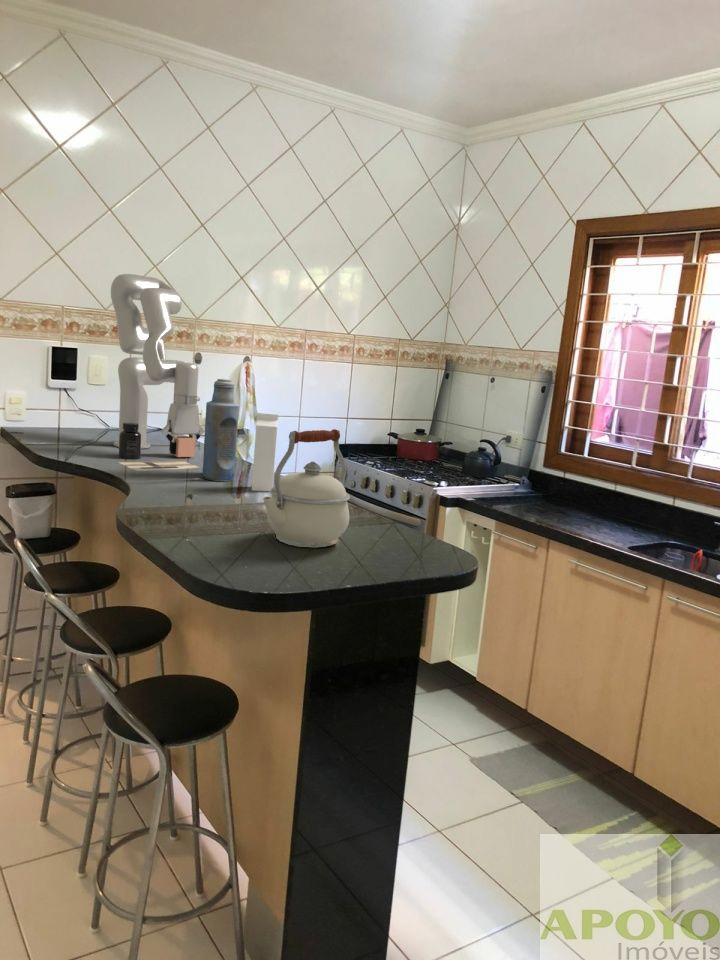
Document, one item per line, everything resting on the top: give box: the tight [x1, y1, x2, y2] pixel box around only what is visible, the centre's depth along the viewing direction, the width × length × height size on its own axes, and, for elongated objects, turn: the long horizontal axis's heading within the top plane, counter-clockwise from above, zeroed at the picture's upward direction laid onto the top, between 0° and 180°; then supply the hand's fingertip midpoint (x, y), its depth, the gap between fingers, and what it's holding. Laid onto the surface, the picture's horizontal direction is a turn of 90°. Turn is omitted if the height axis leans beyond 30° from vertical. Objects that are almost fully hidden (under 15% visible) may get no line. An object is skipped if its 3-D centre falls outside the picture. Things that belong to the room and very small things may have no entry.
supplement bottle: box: [118, 423, 142, 461], centre depth 247 cm, size 7×7×12 cm
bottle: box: [201, 378, 240, 482], centre depth 230 cm, size 10×10×30 cm
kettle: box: [262, 428, 351, 543], centre depth 168 cm, size 25×18×25 cm
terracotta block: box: [169, 435, 196, 458], centre depth 258 cm, size 6×6×6 cm
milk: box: [251, 412, 279, 492], centre depth 221 cm, size 6×6×22 cm
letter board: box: [117, 459, 201, 472], centre depth 240 cm, size 14×22×1 cm, turn 130°
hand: (182, 453), depth 258 cm, fingers closed on terracotta block, 5 cm apart
